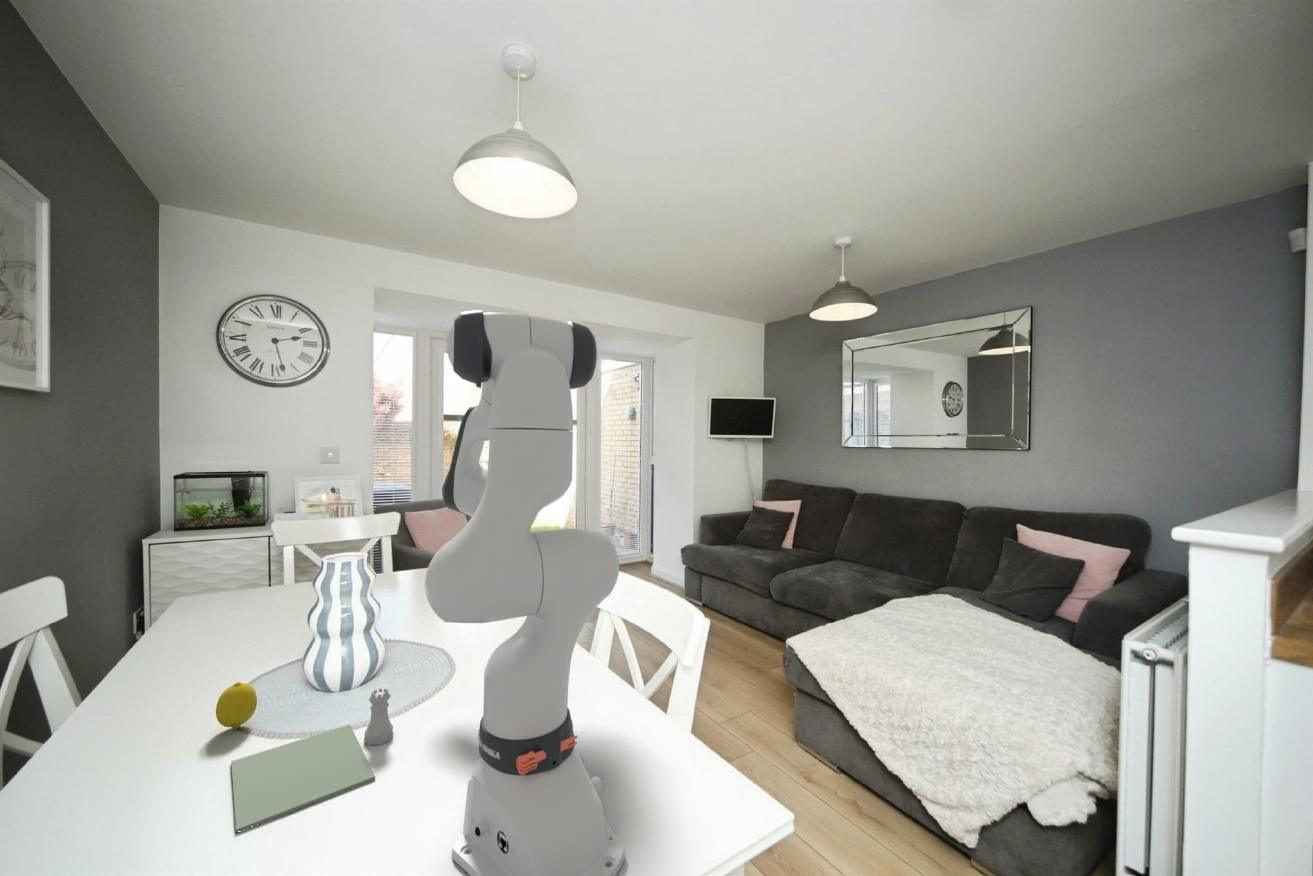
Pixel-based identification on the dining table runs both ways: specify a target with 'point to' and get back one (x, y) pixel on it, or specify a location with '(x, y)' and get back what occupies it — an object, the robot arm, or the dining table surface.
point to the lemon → (236, 705)
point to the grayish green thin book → (297, 775)
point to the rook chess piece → (379, 719)
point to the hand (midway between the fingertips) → (444, 616)
